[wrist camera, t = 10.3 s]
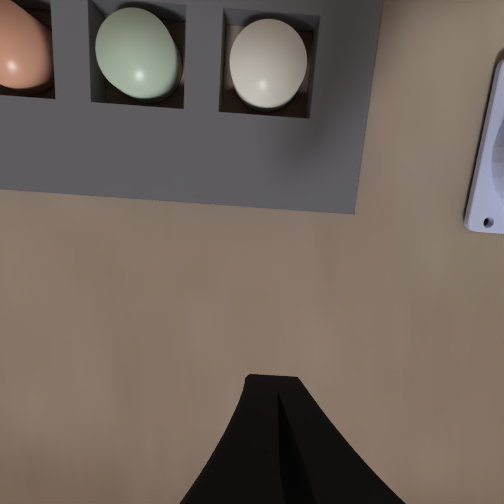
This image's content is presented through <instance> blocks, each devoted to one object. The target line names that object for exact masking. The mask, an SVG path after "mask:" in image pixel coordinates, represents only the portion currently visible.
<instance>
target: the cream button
mask: <svg viewBox="0 0 504 504" xmlns="http://www.w3.org/2000/svg"><path fill="white" fill-rule="evenodd" d="M306 68H307V54H306V49H305V46H304V43H303V41H302V39H301V38H300V36H299V35H298V33H297V32H296V31H295V30H294V29H293V28H292V27H291V26H289V25H288V24H286V23H284V22H282V21H279V20H275V19H262V20H258V21H255V22H253V23H251V24H250V25H248V26H247V27H245V28H244V29H243V30H242V31H241V32H240V33H239V35H238V36H237V38H236V39H235V41H234V43H233V46H232V49H231V53H230V71H231V76H232V82H233V86H234V89H235V92H236V93H237V95H238V97H239V98H240V100H241V101H242V102H243V103H244V104H245V105H247V106H248V107H250V108H251V109H254V110H256V111H260V112H272V111H276V110H279V109H281V108H283V107H284V106H286V105H287V104H288V103H289V102H290V101H291V100H292V99H293V97H294V96H295V94H296V92H297V91H298V89H299V87H300V85H301V83H302V81H303V79H304V76H305V73H306Z"/></svg>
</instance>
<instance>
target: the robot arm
mask: <svg viewBox="0 0 504 504" xmlns="http://www.w3.org/2000/svg"><path fill="white" fill-rule="evenodd" d="M486 218H488V224H487V225H486V226H484V225H483V222H484V220H485V219H486ZM464 225H465V227H466V228H467V229H468V230H471V231H475V232H488V233H502V234H504V59H503V60H501V61H500V62H499V63H498V65H497V67H496V71H495V76H494V80H493V85H492V90H491V95H490V100H489V104H488V109H487V114H486V119H485V124H484V128H483V133H482V138H481V143H480V148H479V152H478V157H477V162H476V167H475V172H474V176H473V181H472V186H471V191H470V196H469V200H468V205H467V210H466V215H465V220H464ZM180 504H405V503H404V502H403V501H402V500H401V499H400V498H399V497H398V496H397V495H396V494H395V493H394V492H393V491H392V490H391V489H390V488H389V487H388V486H387V485H386V484H385V483H384V482H383V481H382V480H381V479H380V478H379V477H378V476H377V475H376V474H375V473H374V472H373V470H372V469H371V468H370V467H369V466H368V465H367V464H366V463H365V462H364V461H363V459H362V458H361V457H360V456H359V455H358V454H357V453H356V452H355V450H354V449H353V448H352V447H351V446H350V445H349V443H348V442H347V441H346V440H345V439H344V437H343V436H342V435H341V434H340V432H339V431H338V430H337V429H336V427H335V426H334V425H333V424H332V422H331V421H330V420H329V419H328V417H327V416H326V415H325V413H324V412H323V411H322V409H321V408H320V407H319V405H318V404H317V403H316V401H315V400H314V399H313V397H312V396H311V395H310V393H309V392H308V390H307V389H306V388H305V386H304V385H303V383H302V382H301V381H300V379H299V378H298V377H291V376H275V375H258V374H249V375H248V376H247V377H246V378H245V384H244V388H243V392H242V395H241V397H240V400H239V402H238V405H237V407H236V410H235V412H234V414H233V416H232V418H231V420H230V422H229V424H228V426H227V428H226V430H225V432H224V434H223V436H222V438H221V439H220V441H219V443H218V445H217V446H216V448H215V450H214V452H213V453H212V455H211V457H210V459H209V460H208V462H207V464H206V465H205V467H204V468H203V470H202V471H201V473H200V475H199V476H198V478H197V479H196V481H195V482H194V484H193V485H192V486H191V488H190V489H189V491H188V492H187V494H186V495H185V497H184V498H183V499H182V501H181V502H180Z"/></svg>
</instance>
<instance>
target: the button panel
mask: <svg viewBox="0 0 504 504" xmlns="http://www.w3.org/2000/svg"><path fill="white" fill-rule="evenodd" d="M10 1H12V2H14V3H15V4H17V5H18V6H19V7H21V8H31V9H43V10H51V21H52V40H53V60H54V79H55V98H56V99H45V98H32V97H19V96H6V95H0V189H4V190H18V191H32V192H47V193H61V194H75V195H89V196H103V197H117V198H131V199H145V200H159V201H173V202H187V203H201V204H215V205H229V206H243V207H257V208H271V209H286V210H300V211H314V212H328V213H342V214H354V212H355V204H356V197H357V190H358V182H359V175H360V168H361V160H362V153H363V146H364V139H365V131H366V124H367V117H368V109H369V102H370V95H371V87H372V80H373V73H374V65H375V58H376V51H377V43H378V36H379V29H380V21H381V14H382V7H383V0H10ZM123 8H140V9H143V10H146V11H148V12H150V13H152V14H153V15H155V16H156V17H157V18H158V19H165V20H177V21H186V38H185V78H184V109H175V108H162V107H149V106H136V105H123V104H110V103H105V76H104V74H103V73H102V71H101V69H100V67H99V64H98V61H97V57H96V50H95V46H96V37H97V34H98V31H99V29H100V27H101V25H102V23H103V22H104V15H111V14H112V13H114V12H116V11H118V10H120V9H123ZM262 19H275V20H279V21H282V22H284V23H286V24H288V25H289V26H291V27H292V28H293V29H294V30H299V31H311V32H313V42H312V52H311V63H310V73H309V83H308V93H307V103H306V113H305V118H293V117H280V116H267V115H254V114H241V113H228V112H222V93H223V72H224V51H225V31H226V25H238V26H248V25H250V24H251V23H253V22H255V21H258V20H262Z"/></svg>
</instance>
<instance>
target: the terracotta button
mask: <svg viewBox="0 0 504 504" xmlns="http://www.w3.org/2000/svg"><path fill="white" fill-rule="evenodd" d="M54 83H55V79H54V60H53V40H52V32H51V31H50V30H49V29H48V28H47V27H46V26H45V25H43V24H42V23H41V22H39V21H38V20H37V19H35V18H34V17H33V16H31V15H30V14H29V13H27V12H26V11H25V10H23V9H22V8H21V7H19V6H18V5H17V4H15V3H14V2H12V1H10V0H0V85H3V86H6V87H8V88H11V89H14V90H16V91H19V92H22V93H26V94H37V93H41V92H44V91H46V90H47V89H49V88H50V87H51V86H52V85H53V84H54Z"/></svg>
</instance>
